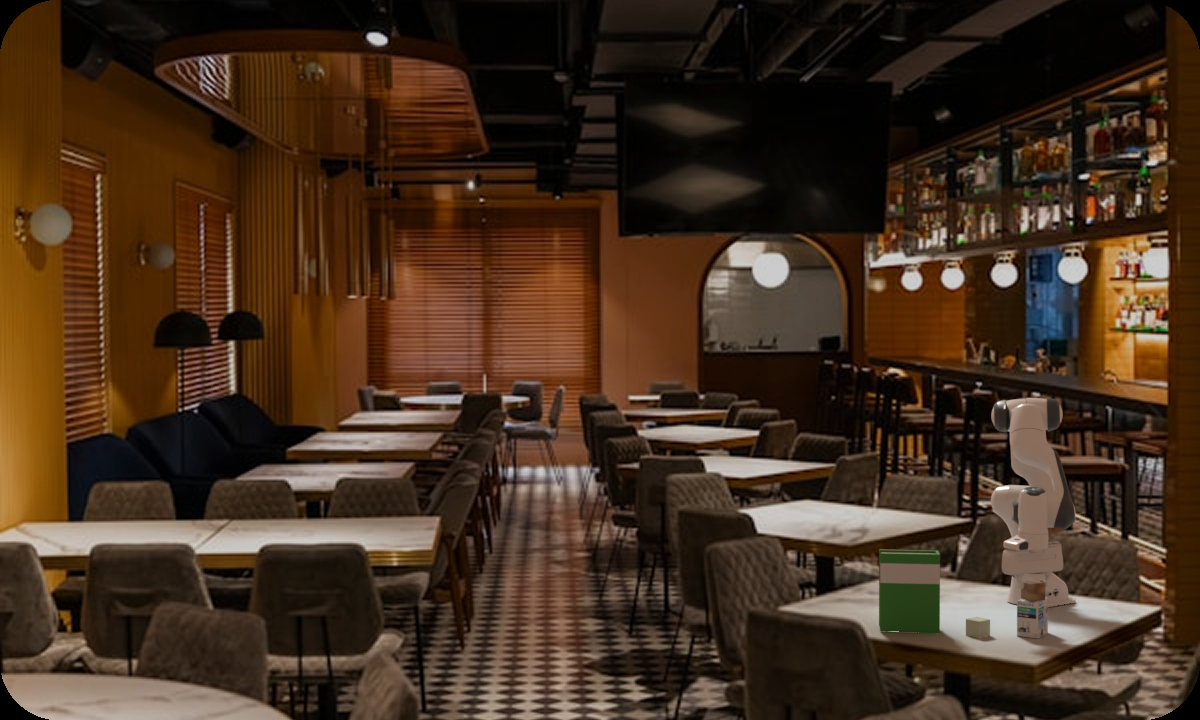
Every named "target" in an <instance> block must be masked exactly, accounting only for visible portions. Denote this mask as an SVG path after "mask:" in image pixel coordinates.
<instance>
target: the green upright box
mask: <svg viewBox="0 0 1200 720" xmlns="http://www.w3.org/2000/svg"><path fill="white" fill-rule="evenodd" d="M878 550H879V552H878V556H879V557H878V558H879V559H878V560H879V561H878V567H879V568H878V573H879V574H878V575H879V576H878V627H879V626H880V628H879V632H880V631H899V632H917V633H916V634H934V633H940V632H941V627H940V625H941V624H940V621H941V618H940V617H941V616H940V615H941V609H940V607H941V605H940V604H941V553H940V552H939V550H934V549H933V550H926V549H924V550H923V549H922V550H921V549H881V548H880V549H878ZM918 632H919V633H918Z"/></svg>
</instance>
